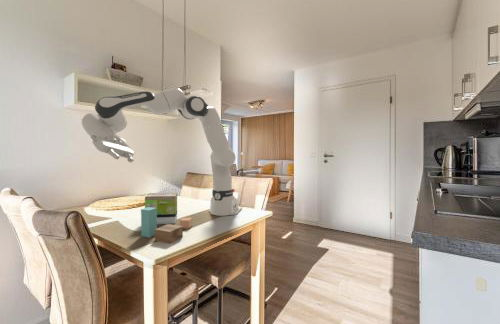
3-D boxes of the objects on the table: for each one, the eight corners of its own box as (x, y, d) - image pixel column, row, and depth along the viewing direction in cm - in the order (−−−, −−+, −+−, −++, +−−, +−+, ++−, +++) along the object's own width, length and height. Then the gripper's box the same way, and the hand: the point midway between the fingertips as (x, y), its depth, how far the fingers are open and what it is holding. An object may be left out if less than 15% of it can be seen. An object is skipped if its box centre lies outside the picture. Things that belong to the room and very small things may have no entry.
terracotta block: (183, 225, 123) (183, 217, 123) (192, 225, 123) (192, 217, 123) (180, 228, 119) (179, 220, 119) (188, 228, 118) (188, 220, 118)
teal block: (149, 232, 112) (148, 207, 111) (157, 234, 110) (156, 208, 110) (141, 236, 108) (141, 209, 107) (149, 237, 106) (148, 210, 105)
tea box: (144, 225, 123) (144, 196, 122) (148, 219, 132) (148, 192, 132) (175, 223, 126) (175, 195, 125) (177, 218, 135) (177, 192, 135)
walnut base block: (168, 234, 110) (168, 223, 110) (182, 237, 107) (182, 226, 107) (155, 240, 103) (154, 229, 103) (169, 243, 100) (169, 231, 99)
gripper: (93, 128, 103) (112, 149, 100) (126, 140, 123) (143, 158, 119) (83, 139, 103) (102, 161, 100) (118, 149, 123) (134, 167, 120)
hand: (124, 159), depth 110 cm, fingers open, 8 cm apart
